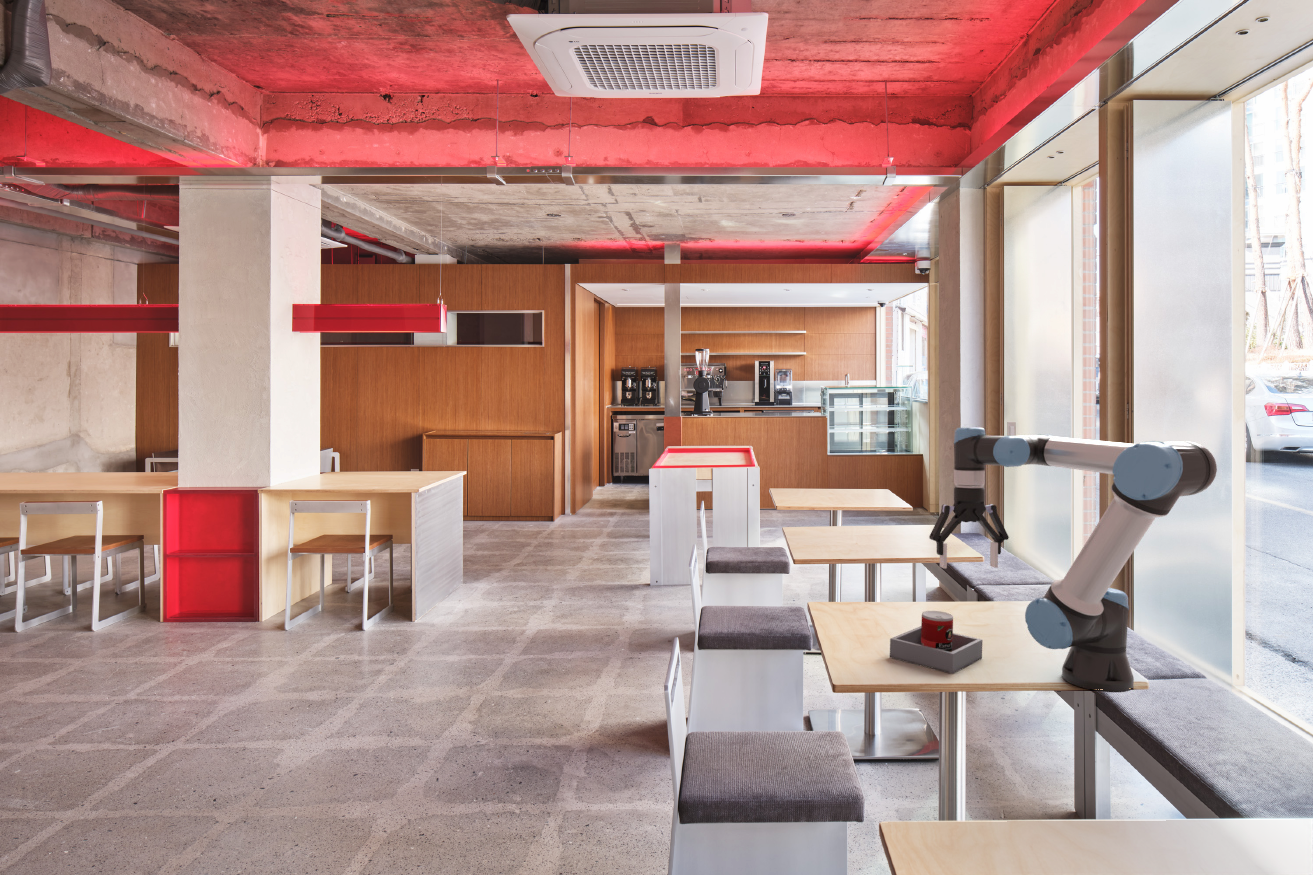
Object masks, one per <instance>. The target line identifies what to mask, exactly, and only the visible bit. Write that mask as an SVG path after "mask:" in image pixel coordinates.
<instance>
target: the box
mask: <svg viewBox="0 0 1313 875" xmlns="http://www.w3.org/2000/svg"><path fill="white" fill-rule="evenodd" d="M889 642H890V643H889V658H890V659H894V660H897V661H898V660H899V661H902V662H906V663H908V664H913V665H916V664H918V665H917V666H920V665H921V667H925V668H928V669H932V670H935V671H940V672H944V673H947V674H951V675H954V674H955V673H957V672H959V671H961V670H962V669H965V668H967V667H968V666H970V665H973V664H974V663H977V662H978V661H980V660H982V659H983V639H981V638H977V637H973V636H968V635H964V634H960V633H955V632H953V641H952V652H948V651H944V650H940V649H936V648H932V647H928V646H923V645H921V626H917V627H915V628H913V629H910V630H908V631H905V632H903V633H901V634H899V635H896V636H893V637H891V638H890V639H889Z"/></svg>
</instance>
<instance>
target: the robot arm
mask: <svg viewBox="0 0 1313 875" xmlns="http://www.w3.org/2000/svg"><path fill="white" fill-rule="evenodd" d="M953 438H954V440H953V451H954V452H953V454H954V455H953V458H954V459H953V461H954V463H953V464H954V467H953V485H955V487H954V488H953V505H948V504H942V505H941V508H940V509H941V511H940V514H939V516H938V518H937V520H936V522H935V524H934V526H933V528H932V530H931V532H930V534H929V537H928V538H929V539H930V540H931V541H934V542H936V554H937V555H938V556H939V567H940V568H942V569H947V568H948V562H947V561H948V544H947V543H946V542H945V541H946V540H947V539H948V537H950V535H951V534H952V533H953V532H954V531H955V529H956V528H957V527H958V526H959V525H960V524H961V523H962V522H963V523H969V522H972V523H977V522H978V523H979V524H980V526H981V527H982V528H983V529H984V530H985V532H986V533H987V535H989V536H990V538H991V539H992V540H991V541H990V542H989V546H990V547H989V549H990V551H989V552H990V553H989V556H990V557H989V561H990V562H989V566H990V567H993V568H995V569H996V568H999V555H1001V553H1002V543H1004V541H1005V540H1006V541H1008V540H1009V538H1010V536H1009V535H1008V533H1007V530H1006V529H1005V526H1004V524H1003V522H1002V520H1001V518H1000V516H999V514H998V508H997V505H996V504H993V503H988V504H987V505H985V499H986V498H985V493H986V490H985V488H984V487H983V486H985V485H986V484H985V483H986V481H985V480H986V476H985V474H986V472H985V471H986V470H985V469H986V468H985V467H986V465H987V466H989V465H990V466H998V467H999V466H1000V467H1005V468H1009V467H1010V468H1011V467H1013V468H1014V467H1015V468H1016V467H1021V466H1025V465H1035V466H1037V465H1038V466H1047V467H1055V468H1063V469H1064V468H1065V469H1070V470H1077V471H1087V472H1093V473H1100V474H1108V475H1113V483H1112V485H1111V486H1110V489H1111V492H1112V495H1113V498H1112V500H1111V502H1110V503H1109V505H1108V506H1107V508H1106V510H1105V511H1104V513H1103V515H1102V516H1101V518H1100V519H1099V521H1098V523H1097V524H1096V525H1095V528H1094V529H1093V531H1092V532H1091V534H1090V535H1089V537H1088V538H1087V540H1086V542H1085V544H1084V545H1083V547H1082V548H1081V549H1080V552H1079V553H1078V555H1077V556H1076V558H1075V560H1074V561H1073V563H1072V564H1071V566H1070V568H1069V569H1068V571H1067V572H1066V573H1065V576H1064V578H1063V579H1055V580H1054V581H1053V582H1052V583H1051V585H1050V586H1049V588H1048V589H1047V590H1046V592H1045V593H1044V596H1042V597H1038V598H1035V599H1033V600H1032V601H1031V602H1029V603H1028V604H1027V606H1026V609H1025V612H1024V620H1025V624H1026V625H1027V630H1028V632H1029V634H1030V635H1031V637H1032V638H1033V639H1034V640H1035V642H1037V644H1039V645H1040V646H1042V647H1044V648H1047V649H1051V650H1065V649H1068V648H1069V650H1068V652H1067V655H1066V658H1065V660H1064V661H1063V664H1062V667H1061V668H1062V669H1061V671H1062V672H1061V677H1062V679H1063V680H1065V681H1066V682H1068V683H1070V684H1071V685H1074V686H1077V687H1080V688H1082V689H1086V690H1090V689H1097V690H1094V691H1097V692H1104V693H1126V692H1129V691H1131V690H1133V689H1134V681H1135V679H1134V674H1133V671H1132V668H1131V665H1130V661H1129V659H1128V657H1127V646H1128V645H1127V641H1128V622H1129V610H1130V607H1129V597H1128V595H1127V593H1126V592H1124V591H1123V590H1119V589H1117V588H1112V587H1111V586H1112V584H1113V583H1114V581H1115V579H1116V578H1117V577H1118V575H1119V573H1121V570H1122V569H1123V567H1124V566H1125V564H1126V563H1127V562H1128V560H1129V559H1130V557H1131V556H1132V554H1133V553H1134V551H1135V549H1136V548H1137V546H1138V545H1139V543H1140V542H1141V540H1142V539H1143V537H1144V536H1145V535H1146V533H1147V532H1148V529H1149V528H1150V527H1151V525H1152V524H1153V523H1154V521H1155V519H1156V518H1161V517H1167V515H1168V514H1169V513H1170V511H1171V510H1172V509H1173V507H1174V505H1175V504H1176V503H1177V501H1178V500H1179V498H1180V497H1185V496H1193V495H1197V494H1199V493H1201V492H1204V491H1205V490H1207V489H1208V488H1209V487H1210V486H1211V485H1212V483H1214V481H1215V479H1216V476H1217V471H1218V467H1217V466H1218V465H1217V461H1216V459H1215V457H1214V455H1213V453H1211V452H1210V450H1209V449H1207V447H1205V446H1203V445H1202V444H1200V443H1198V442H1195V441H1194V442H1193V441H1189V440H1174V441H1173V440H1172V441H1171V440H1170V441H1159V440H1149V441H1142V442H1139V443H1127V442H1118V441H1117V442H1116V441H1105V440H1097V439H1096V440H1094V439H1082V438H1073V437H1062V436H1054V435H1051V434H1040V433H1039V434H1032V435H1025V434H1024V435H988V434H987V435H986V429H985V428H983V427H969V426H968V427H957V428H956V429H955V430H954V437H953ZM952 512H953V513H954V515H953V516H952V518H951V520H950V521H949V522H948V523H947V525H946V522H947V521H948V519H949V516H950V514H951V513H952ZM985 512H987V514H988V515H989V517H990V520H991V521H992V524H993V526H994V528H993V527H992V525H991V524H990V523H989V522H988V520H987V518H986V517H985V516H984V513H985ZM945 525H946V526H945ZM1129 688H1133V689H1129ZM1098 689H1099V690H1098ZM1100 689H1103V690H1100Z"/></svg>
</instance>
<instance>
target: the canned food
mask: <svg viewBox="0 0 1313 875" xmlns="http://www.w3.org/2000/svg"><path fill="white" fill-rule="evenodd" d="M920 622H921V645H923V646H928V647H932V648H936V649H940V650H944V651H948V652H952V641H953V633H954V616H953V614H950V613H948V612H945V611H941V610H940V611H939V610H926V611H922V613H921V621H920Z"/></svg>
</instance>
